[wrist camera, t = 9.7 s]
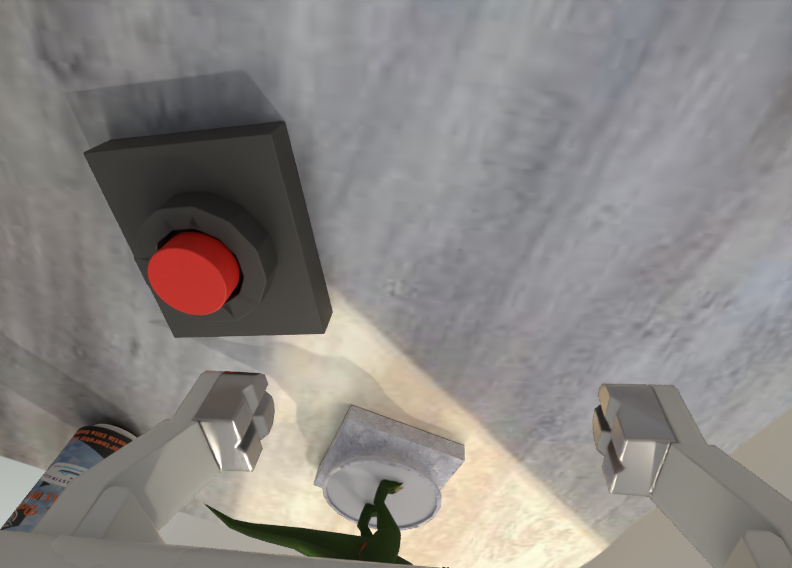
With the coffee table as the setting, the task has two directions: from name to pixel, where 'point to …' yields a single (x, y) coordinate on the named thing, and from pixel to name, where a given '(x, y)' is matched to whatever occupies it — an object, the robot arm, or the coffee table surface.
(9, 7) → the coffee table surface
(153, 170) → the control block
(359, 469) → the dinosaur figurine
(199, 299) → the stop button
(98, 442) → the beverage can
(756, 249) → the coffee table surface
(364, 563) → the robot arm
